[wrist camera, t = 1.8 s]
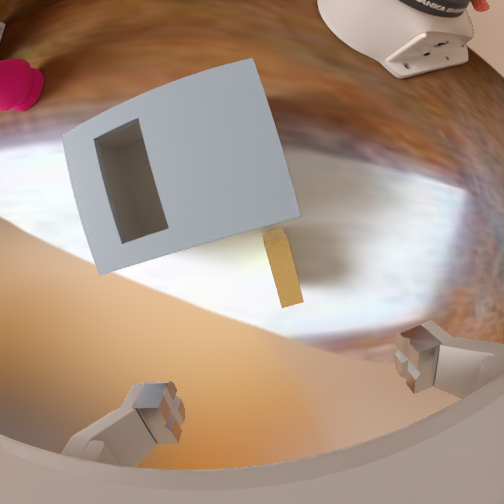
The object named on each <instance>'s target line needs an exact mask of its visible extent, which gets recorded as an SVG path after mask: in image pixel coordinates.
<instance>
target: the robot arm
mask: <svg viewBox="0 0 504 504" xmlns="http://www.w3.org/2000/svg"><path fill="white" fill-rule="evenodd" d="M470 1H471V2H472V5H473V7H474V9H475V10H476V11H479V12H482V11H485V10H488V9H489V5H488V3H487V2H486V1H485V0H318V8H319V12H320V14H321V16H322V18H323V20H324V21H325V23H326V24H327V26H328V27H329V28H330V29H331V31H332V32H333V33H334V34H335V35H336V36H337V37H339V38H340V39H341V40H342V41H343V42H345V43H346V44H347V45H349V46H350V47H352V48H353V49H355V50H357V51H358V52H360V53H362V54H364V55H366V56H369V57H371V58H373V59H375V60H376V61H378V62H380V63H381V64H382V65H383V66H384V67H385V68H386V69H387V70H388V71H389V72H390V73H391V74H393V75H394V76H395V77H397V78H400V79H403V78H407V77H411V76H414V75H418V74H422V73H425V72H429V71H433V70H437V69H442V68H446V67H450V66H455V65H460V64H463V63H465V62H467V61H468V49H467V45H466V43H467V42H468V41H470V40H471V39H472V37H473V33H474V32H473V25H472V22H471V20H470V17H469V15H468V12H467V10H466V8H467V6H468V4H469V2H470ZM405 65H406V66H407V68H408V69H407V68H406V67H405ZM395 345H396V346H397V347H398V349H397V351H396V353H395V366H396V369H397V371H398V373H399V375H400V376H401V377H403V378H407V381H406V384H407V385H408V387H409V388H410V389H411V390H412V392H413V393H414V394H415V393H418V392H420V391H423V390H425V389H427V388H430V387H432V386H434V387H435V388H438V389H440V390H443V391H445V392H447V393H450V394H452V395H455V396H457V397H459V398H462V399H461V400H459V401H458V402H456V403H454V404H452V405H450V406H448V407H446V408H444V409H442V410H441V411H439V412H436V413H434V414H432V415H430V416H428V417H426V418H424V419H422V420H420V421H418V422H415V423H413V424H410V425H408V426H406V427H403V428H401V429H398V430H396V431H393V432H390V433H388V434H385V435H382V436H379V437H377V438H374V439H371V440H368V441H365V442H362V443H358V444H355V445H352V446H348V447H345V448H341V449H338V450H334V451H331V452H326V453H323V454H318V455H314V456H309V457H305V458H300V459H295V460H290V461H284V462H278V463H271V464H265V465H257V466H248V467H238V468H226V469H208V470H207V469H206V470H170V469H149V468H138V467H136V466H137V465H138V464H139V463H140V462H141V461H142V460H143V459H144V458H145V457H146V456H147V455H148V454H149V453H150V452H151V451H152V450H153V449H154V448H155V447H156V446H157V444H170V443H172V444H173V443H179V439H180V436H181V432H182V430H181V428H180V425H181V424H183V423H184V420H185V408H184V405H183V402H182V400H181V399H180V398H179V397H177V396H176V392H177V389H176V387H175V385H174V383H172V382H171V381H168V382H150V383H149V382H148V383H135V384H133V386H132V388H131V389H130V391H129V393H128V395H127V396H126V398H125V400H124V402H123V404H122V405H121V407H120V409H115V410H114V411H112V412H110V413H109V414H107V415H106V416H104V417H102V418H101V419H99V420H98V421H96V422H94V423H93V424H91V425H90V426H88V427H86V428H85V429H83V430H81V431H80V432H78V433H76V434H75V435H73V436H72V437H71V439H70V440H69V442H68V443H67V445H66V447H65V448H64V450H63V452H62V453H61V454H57V453H53V452H49V451H46V450H42V449H39V448H36V447H33V446H30V445H27V444H24V443H20V442H18V441H15V440H13V439H10V438H7V437H5V436H3V435H0V504H504V344H500V343H493V342H486V341H480V340H474V339H467V338H461V337H456V338H453V337H452V336H451V335H449V334H448V333H447V332H446V331H444V330H443V329H442V328H441V327H439V326H438V325H437V324H435V323H434V322H433V321H428V322H426V323H423V324H421V325H419V326H417V327H414V328H412V329H409V330H406V331H404V332H401V333H398V334H396V337H395Z"/></svg>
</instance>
